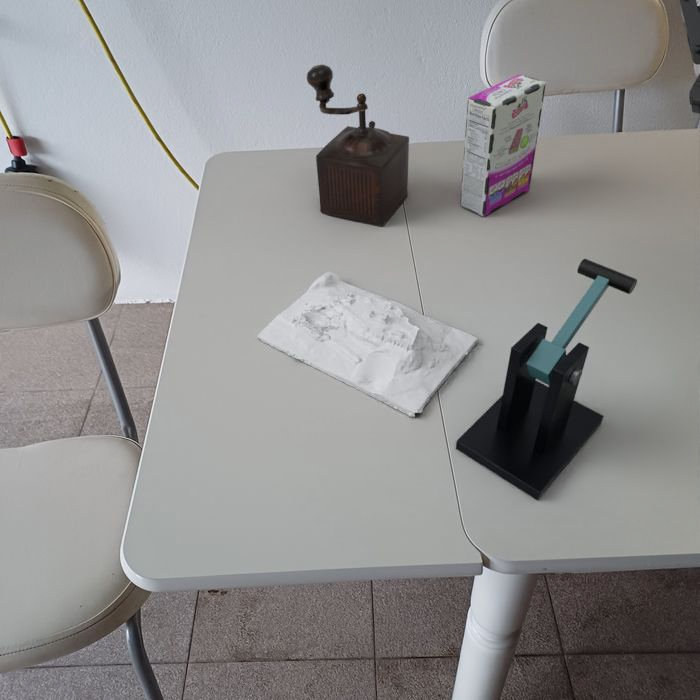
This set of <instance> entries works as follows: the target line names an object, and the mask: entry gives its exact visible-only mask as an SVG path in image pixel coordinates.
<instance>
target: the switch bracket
mask: <svg viewBox="0 0 700 700" xmlns="http://www.w3.org/2000/svg"><path fill="white" fill-rule="evenodd" d="M548 329H549V328H548V326H547V325H544V324H542V323H540V322H537V323H536V324H535V325H534V326H533V327H532V328H531V329H529V330H528V331H527V332H526V333H525V334H524V335H523V336H522V337H521V338H520V339H519V340H518V341H517V342H515V344H513V345H512V346H511V348H510V351H509V352H510V353H509V359H508V365H507V368H506V375H505V380H504V385H503V391H502V395H501V396H500V397H499V398H498V399H497V400H496V401H495V402H494V403H493V404H492V405H491V406H490V407H489V408H488V409H487V410H486V411H485V412H484V413H482V415H481V416H480V417H479V418H478V419H477V420H475V422H474V423H473V424H472V425H471V426H470V427H468V429H467V430H466V431H465V432H463V434H461V436H460V437H459V438H458V439H457V440H456V443H455V449H456V450H457V451H459V452H460V453H462V454H463V455H465V456H467V457H468V458H470V459H471V460H473V461H474V462H476V463H478V464H479V465H481V466H483V468H486V469H487V470H489V471H490V472H492V473H494V474H495V475H496V476H498V477H500V478H501V479H503V480H504V481H506V482H508V483H509V484H511V485H512V486H514V487H516V488H517V489H518V490H520V491H522V492H523V493H524V494H527V495H528V496H530V497H531V498H533V499H534V500H536V501H539V500H540V498H541V497H542V496H543V495H544V494H545V492H546V491H547V490H548V489H549V488H550V487H551V485H552V484H553V483H554V481H555V480H556V479H557V478H558V477H559V475H560V474H561V473H562V472H563V471H564V470H565V468H566V467H567V466H568V464H570V462H571V461H572V459H574V457H575V456H576V455H577V454H578V453H579V451H580V450H581V449H582V448H583V447H584V445H585V444H586V442H588V440H589V439H590V438H591V437H592V435H593V434H594V433H595V432H596V430H597V429H598V428H599V427H600V426H601V424H602V422H603V419H604V415H603V414H601V413H599V412H597V411H595V410H593V409H591V408H589V407H588V406H585V405H584V404H581V403H580V402H578V401H576V400H575V397H576V394H577V391H578V388H579V385H580V384H579V383H580V380H581V378H582V375H583V371H584V367H585V364H586V360H587V357H588V354H589V349H590V346H588V345H586V344H584V343H582V342H578V343H577V344H576V345H575V346H574V347H573V348H572V349H571V350H570V351H569V352H568V353H566V356H565V357H564V358H563V359H562V360H561V361H560V362H559V364H558V365H557V366H556V367H555V368H554V369H553V372H552V376H551V380H550V384H549V385H547V384H545V383H543V382H541V381H540V382H539V380H537V379H536V378H534V377H532V376H530V375H529V374H528V370H527V365H526V363H527V361H528V360H529V358H530V357H531V356H532V354H533V353H534V351H535V350H536V348H537V347H538V346H539V344H540V343H541V341H542V340H543V339H545V340H546V337H547V332H548Z"/></svg>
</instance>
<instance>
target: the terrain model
mask: <svg viewBox="0 0 700 700" xmlns="http://www.w3.org/2000/svg"><path fill="white" fill-rule="evenodd" d="M257 338H258V339H259V340H261V341H262V342H263V343H265V344H267V345H269V346H270V347H272V348H274V349H276V350H278V351H280V352H282V353H285V354H286V355H288V356H291V357H292V358H294V359H296V360H298V361H300V362H302V363H304V364H306V365H308V366H310V367H313V368H314V369H316V370H318V371H320V372H322V373H324V374H326V375H328V376H330V377H332V378H334V379H336V380H338V381H340V382H342V383H344V384H346V385H348V386H350V387H352V388H354V389H356V390H358V391H360V392H362V393H364V394H366V395H368V396H369V397H372V398H374V399H375V400H377V401H380V402H382V403H383V404H385V405H388V406H389V407H391V408H393V409H395V410H398V411H400V412H402V413H403V414H405V415H407V416H408V417H411V418H415V417H416V415H415V414H418V413H419V414H421V413H424V412H423V411H424V408H425V406H427V404H428V403H429V401H431V398H432V397H434V396H435V393H437V391H438V390H439V388H440V387H442V385H443V384H444V383H445V381H446V380H448V378H449V377H450V376H451V374H452V373H453V372H454V371H455V370H456V368H457V367H458V366H459V365H460V364H461V362H462V361H463V360H464V359H465V358H466V357H467V355H468V354H469V353H470V352H471V351H472V350H473V348H474V347H475V346H477V344H478V341H479V338H477V336H474V335H472V334H470V333H469V332H466V331H463V330H460V329H458V328H456V327H453V326H449V325H448V324H445V323H443V322H441V321H440V320H437V319H434V318H432V317H430V316H429V317H428V316H427V315H424V314H422V313H420V312H418V311H416V310H414V309H413V308H410V307H408V306H406V305H404V304H402V303H400V302H398V301H395V300H392V299H390V298H388V297H385V296H383V295H380V294H376V293H373V292H371V291H368V290H365V289H362V288H360V287H358V286H356V285H352V284H350V283H347V282H345V281H344V280H343V279H342V277H340V276H339V275H337V274H336V273H334V272H332V271H326V272H325V273H323V274H322V275H321V276H319V277H318V278H316V279H315V280H314V281H313V282H312V284H311V285H310V286H309V288H308V289H307V291H306V292H305V293H304V294H303V295H301V296H300V297H299V298H297V299H296V300H295V301H294V302H293V303H292V304H291V305H290V306H289V307H287V308H285V309H284V310H283V311H282V312H280V313H279V314H278V315H277V316H274V318H273V320H272V321H270V322H269V323H268V324H267V325H266V326H265V327H264V328H263V329H262V330H261V331H260V332H259V333H258V334H257Z"/></svg>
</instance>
